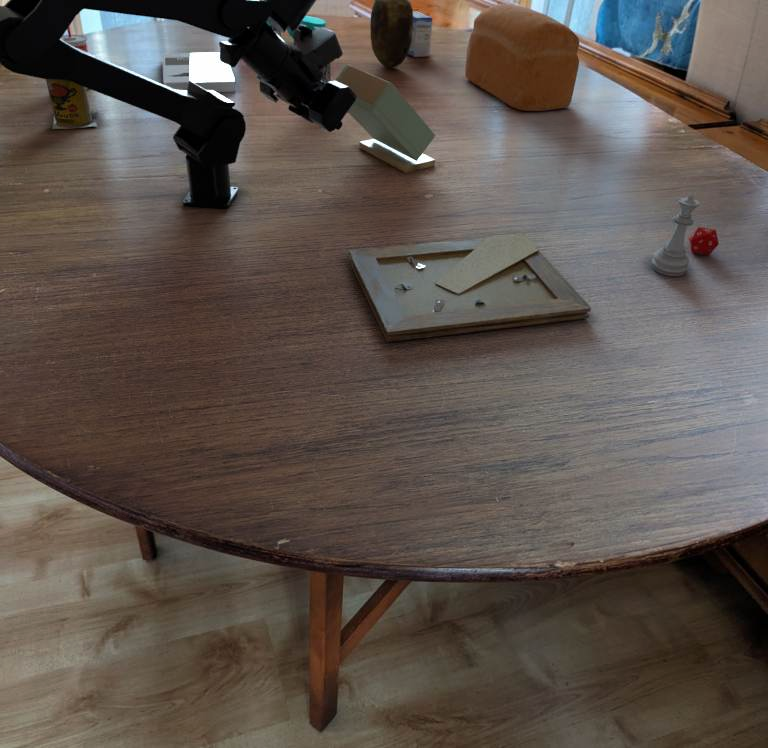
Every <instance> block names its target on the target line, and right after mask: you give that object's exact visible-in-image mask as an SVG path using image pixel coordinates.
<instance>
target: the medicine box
mask: <svg viewBox="0 0 768 748" xmlns="http://www.w3.org/2000/svg"><path fill="white" fill-rule="evenodd" d="M432 29H433V17H431V16H428V15H426V14H424V13H422V12H420V11H417V10H413V30H412V42H411V46H410V49H409V51H408V53H407V55H410V56H411V57H413V58H422V57H423V58H425V57H429V56H430V55H431V45H432V43H431V42H432V31H433V30H432Z"/></svg>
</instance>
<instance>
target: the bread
mask: <svg viewBox="0 0 768 748" xmlns="http://www.w3.org/2000/svg"><path fill="white" fill-rule="evenodd" d="M579 45H580V39H579V37H578V36H577V34H576V33H575V32H574V31H573V30H572V29H571V28H570V27H568V26H567V25H565V24H564V23H562V22H560V21H558V20H556V19H555V18H552V17H551V16H549V15H547V14H544V13H542V12H539V11H536V10H534V9H531V8H528V7H524V6H522V5H517V4H513V3H501V4H494V5H491V6H490V7H487V8H486V9H483V10H481V11H480V13H479V14H478V15H477V16H476V17H475V18H474V20H473V27H472V30H471V32H470V35H469V39H468V42H467V47H466V54H465V55H466V56H465V69H464V76H465V78H466V79H468V80H469V81H470V82H471V83H473V84H475V85H476V86H478V87H480V89H482V90H484V91H486V92H487V93H489V94H491V95H492V96H494V97H495V98H497V99H498V100H500V101H501V102H502V103H504V104H506V105H508V106H509V107H511V108H512V109H513V108H514V109H516V110H520V111H525V112H545V111H553V110H559V109H566V108H569V106H570V105H571V103H572V100H573V95H574V90H575V86H576V81H577V77H578V72H579V66H580V59H579V55H578V51H579V48H580V46H579Z"/></svg>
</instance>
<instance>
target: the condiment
mask: <svg viewBox="0 0 768 748" xmlns="http://www.w3.org/2000/svg"><path fill="white" fill-rule="evenodd" d="M45 82H46V86H47V91H48V95H49V99H50V103H51V107H52V108H51V109H52V112H53V121H52V128H51V129H52V130H68V129H82V128H88V127H89V128H90V127H98V110H92V111H91V106H90V101H89V96H88V93H87V89H86V87H83V86H81V85H78V84H76V83H73V82H69V81H61V80H49V79H45Z"/></svg>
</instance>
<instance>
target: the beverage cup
mask: <svg viewBox="0 0 768 748" xmlns="http://www.w3.org/2000/svg"><path fill="white" fill-rule="evenodd" d="M66 32H67V34H64V35H63V36H62V37H61V38H60V39H62V40H63V41H65V42H66V43H68V44H70V45H71V46H73V47H76V48H78V49H81V50H83V51H85V52H88V53H89V49H88V43H89V41H88V40H89V39H88V37H87V36H86V35H83V34H72V33H71V27H70V26H69V27H68V29H67V30H66ZM86 90H90V89H89V88H86Z"/></svg>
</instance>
